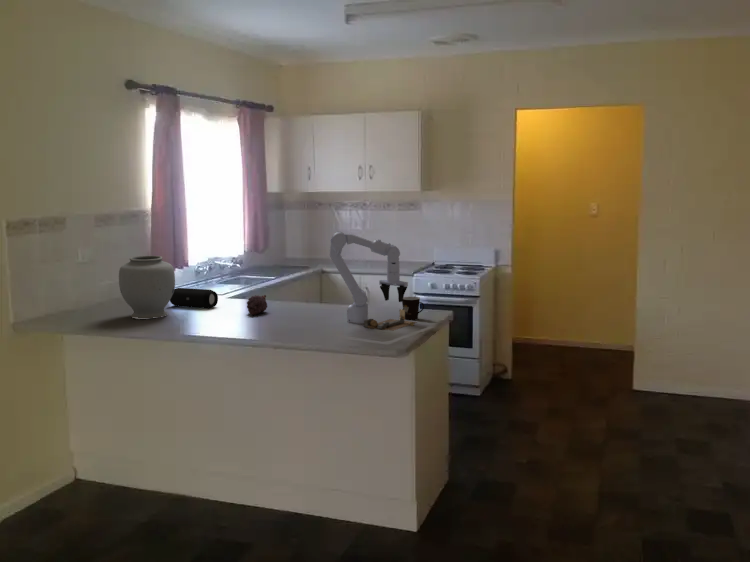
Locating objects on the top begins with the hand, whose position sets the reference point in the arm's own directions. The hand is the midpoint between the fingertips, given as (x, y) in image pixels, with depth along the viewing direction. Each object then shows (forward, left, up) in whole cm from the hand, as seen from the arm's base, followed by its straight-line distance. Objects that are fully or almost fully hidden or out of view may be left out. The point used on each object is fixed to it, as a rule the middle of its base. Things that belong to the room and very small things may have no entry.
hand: (393, 301), depth 343 cm
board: (+5, -8, -10) cm, 14 cm away
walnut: (0, -16, -9) cm, 19 cm away
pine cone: (-74, -15, -11) cm, 76 cm away
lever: (+5, -10, -9) cm, 14 cm away
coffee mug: (+3, +11, -11) cm, 16 cm away
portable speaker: (-116, -18, -11) cm, 118 cm away
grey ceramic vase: (-116, -47, -11) cm, 126 cm away
